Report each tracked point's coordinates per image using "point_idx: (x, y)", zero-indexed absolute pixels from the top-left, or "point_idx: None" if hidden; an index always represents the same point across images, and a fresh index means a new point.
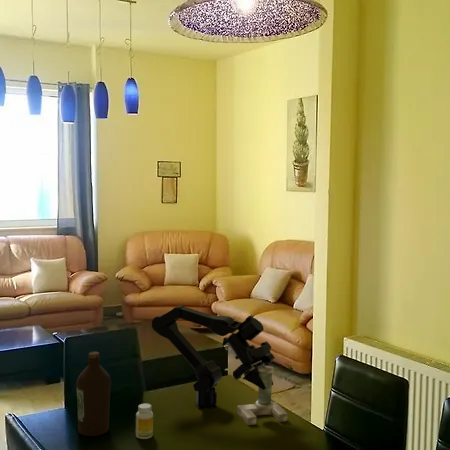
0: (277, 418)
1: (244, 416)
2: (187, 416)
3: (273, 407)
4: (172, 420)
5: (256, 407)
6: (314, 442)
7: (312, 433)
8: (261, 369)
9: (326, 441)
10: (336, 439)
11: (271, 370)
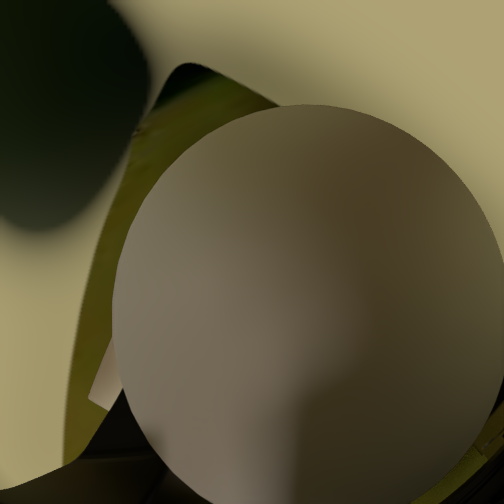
0: None
1: None
2: (432, 487)
3: None
4: (468, 468)
5: None
6: (235, 96)
7: (184, 129)
8: (490, 279)
9: (201, 84)
10: (168, 78)
11: (340, 110)
